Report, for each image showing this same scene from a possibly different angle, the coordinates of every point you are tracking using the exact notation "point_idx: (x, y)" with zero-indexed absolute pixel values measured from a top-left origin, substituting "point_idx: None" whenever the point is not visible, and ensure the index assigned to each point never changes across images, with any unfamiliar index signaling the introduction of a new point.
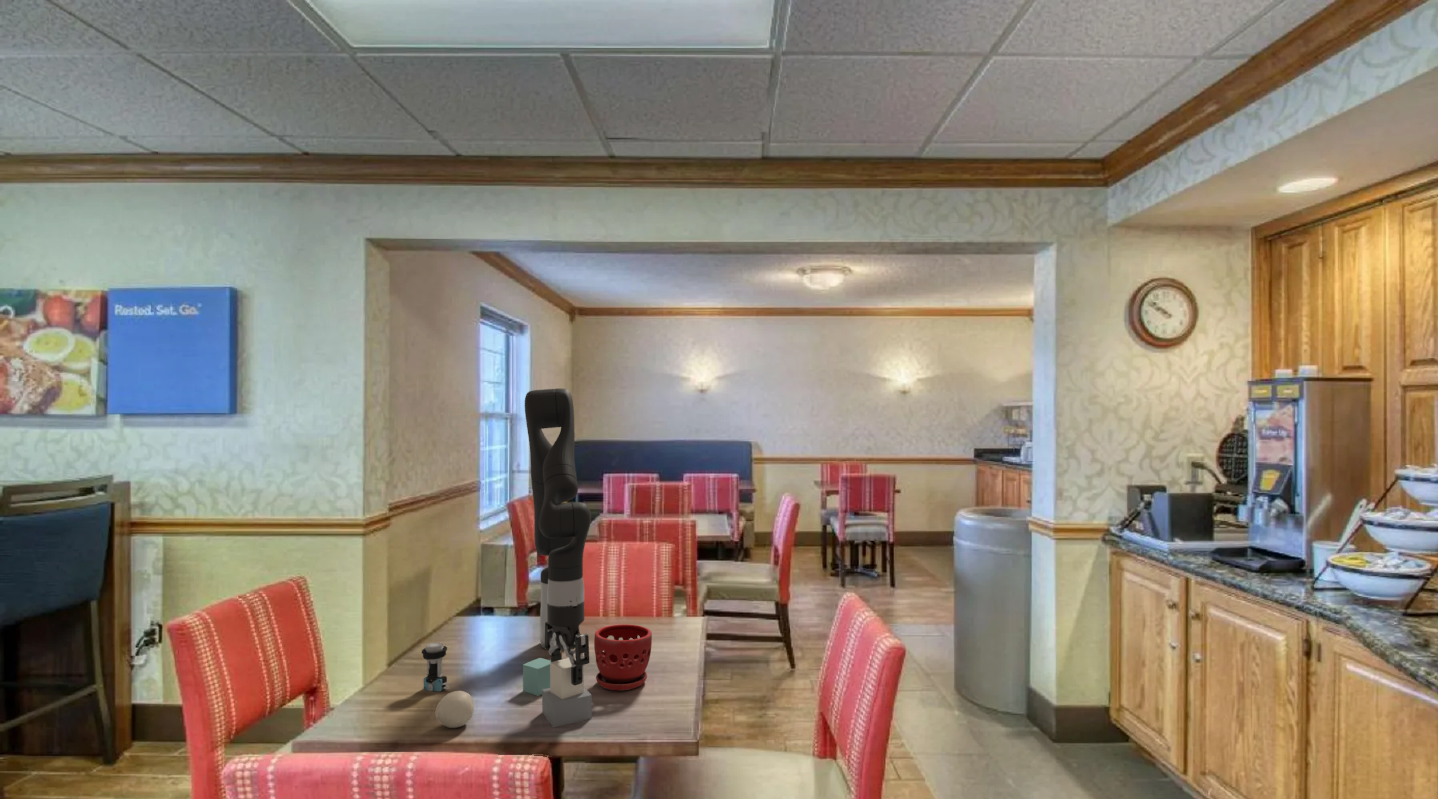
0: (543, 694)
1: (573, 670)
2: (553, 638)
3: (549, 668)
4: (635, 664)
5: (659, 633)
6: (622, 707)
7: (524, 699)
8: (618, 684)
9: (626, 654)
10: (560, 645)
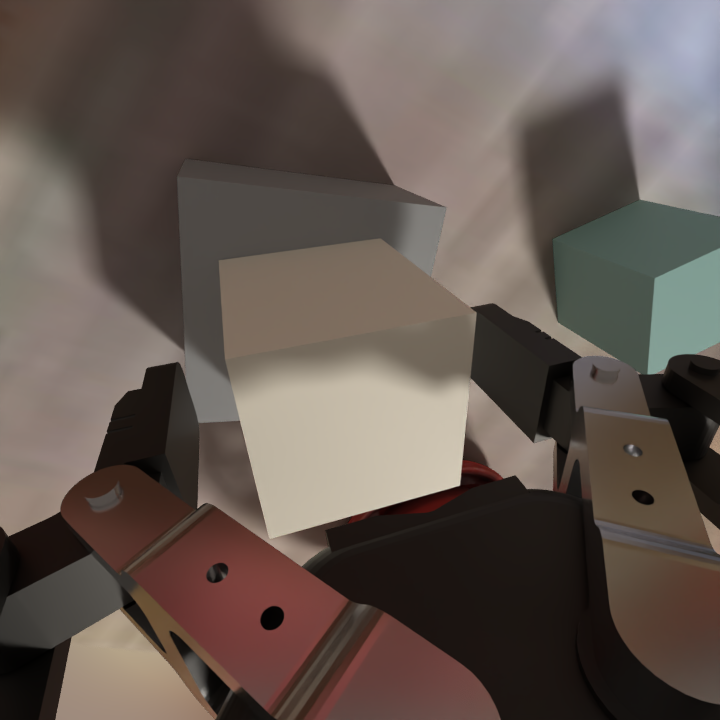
0: (410, 200)
1: (132, 446)
2: (667, 531)
3: (631, 336)
4: None
5: None
6: (230, 479)
7: (571, 169)
8: (363, 518)
9: None
10: (477, 529)
